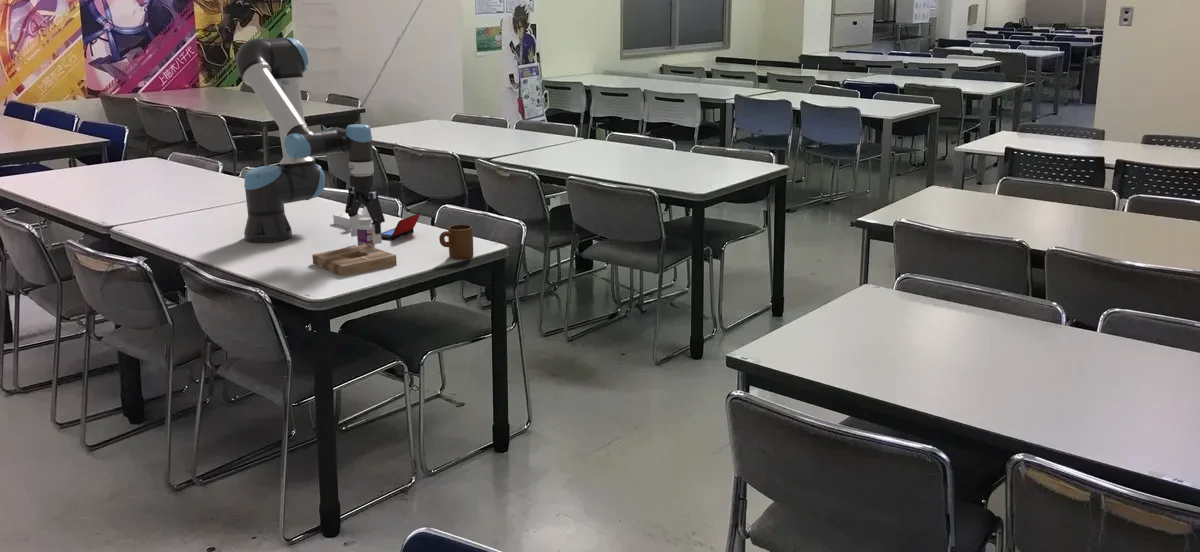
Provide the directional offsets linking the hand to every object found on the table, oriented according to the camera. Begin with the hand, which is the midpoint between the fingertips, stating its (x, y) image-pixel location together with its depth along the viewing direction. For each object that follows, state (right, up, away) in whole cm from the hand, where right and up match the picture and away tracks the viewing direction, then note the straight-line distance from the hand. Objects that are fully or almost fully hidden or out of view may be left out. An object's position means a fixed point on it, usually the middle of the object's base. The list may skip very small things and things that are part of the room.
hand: (366, 239), depth 311 cm
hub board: (+1, -8, -18) cm, 20 cm away
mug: (+31, -6, -11) cm, 33 cm away
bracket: (-12, +6, +31) cm, 34 cm away
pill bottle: (0, -3, +1) cm, 3 cm away
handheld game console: (+7, +2, +16) cm, 18 cm away
